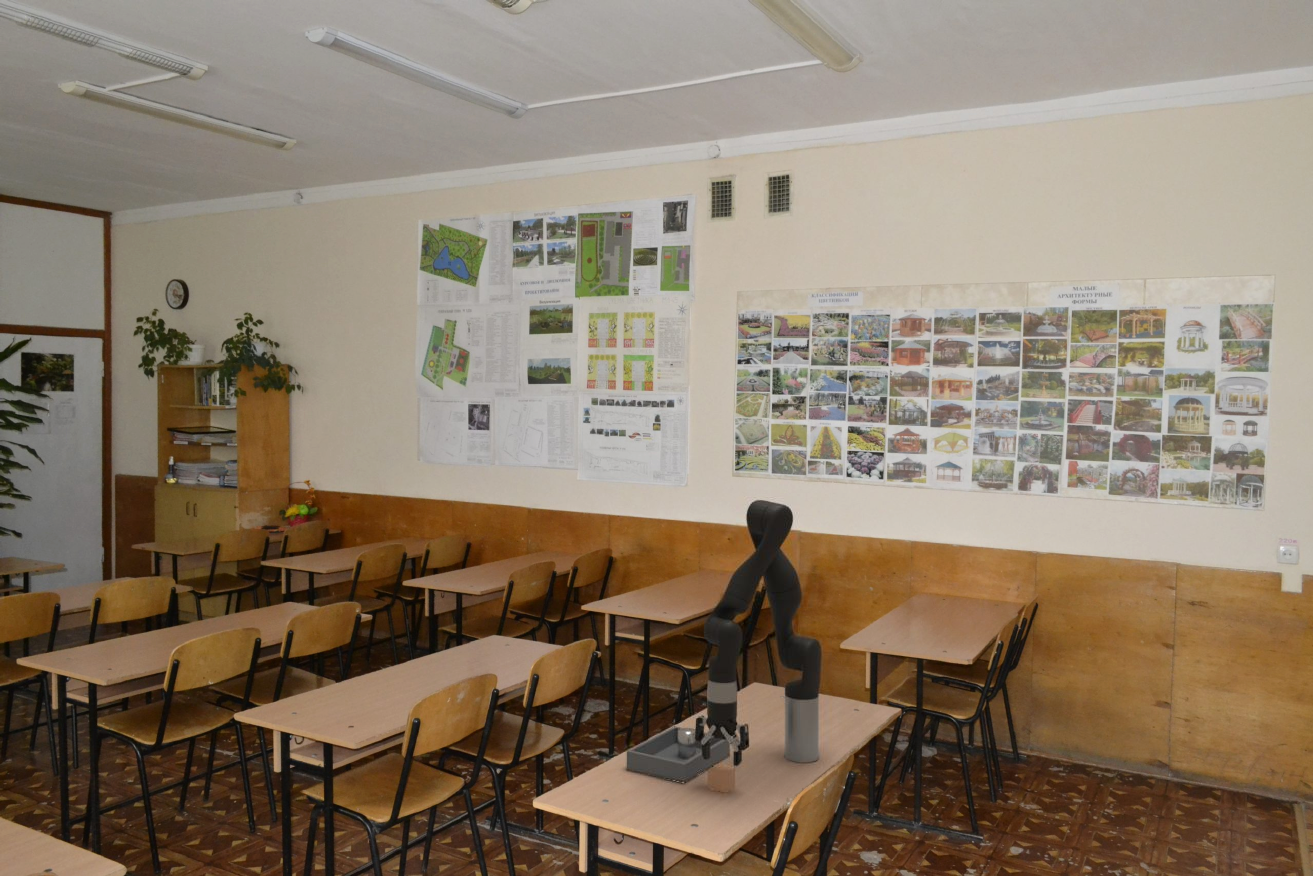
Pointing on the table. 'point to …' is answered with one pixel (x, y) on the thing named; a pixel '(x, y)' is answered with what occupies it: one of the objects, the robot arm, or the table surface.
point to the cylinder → (686, 743)
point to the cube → (721, 778)
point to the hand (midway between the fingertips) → (721, 762)
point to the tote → (674, 757)
